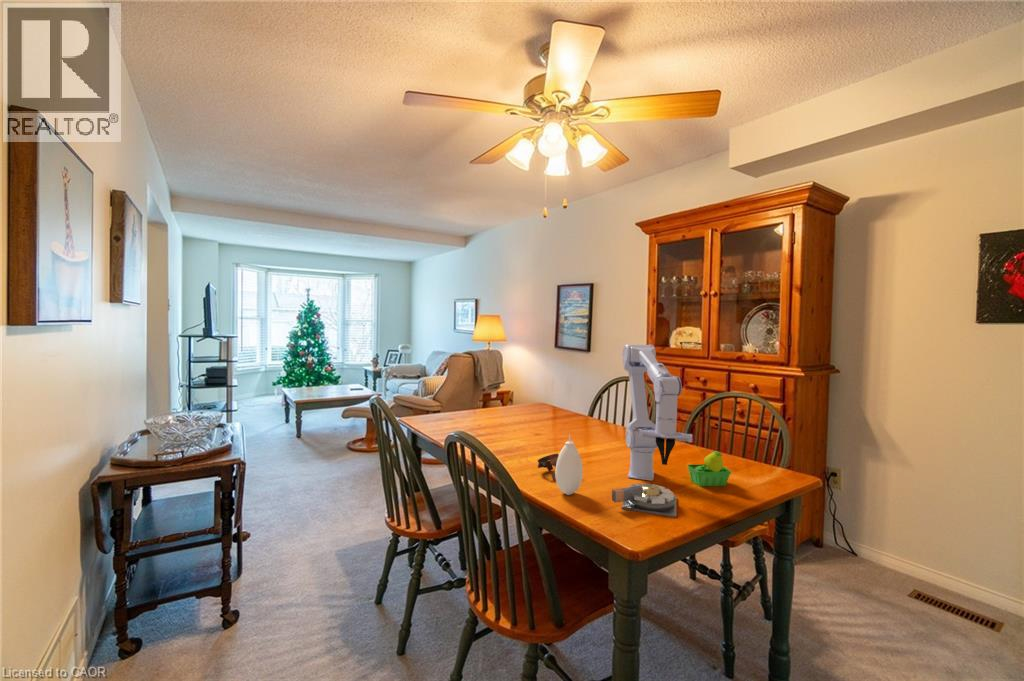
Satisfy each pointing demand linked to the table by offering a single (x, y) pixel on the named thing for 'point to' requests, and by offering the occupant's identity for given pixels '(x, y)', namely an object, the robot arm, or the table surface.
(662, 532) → the table surface
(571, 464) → the air blower bulb
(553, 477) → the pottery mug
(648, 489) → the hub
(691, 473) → the fruit basket
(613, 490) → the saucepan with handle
